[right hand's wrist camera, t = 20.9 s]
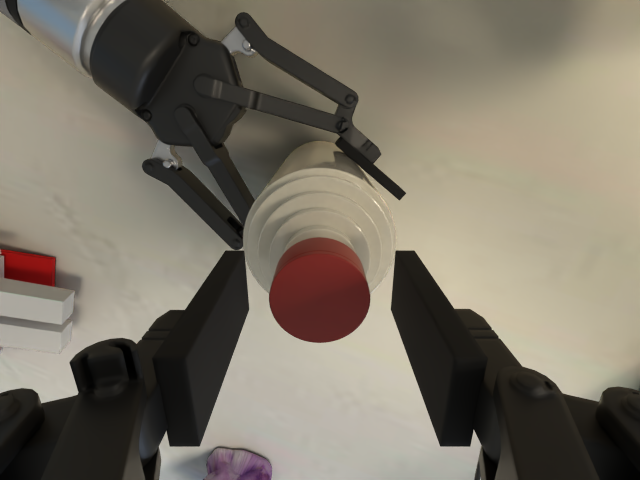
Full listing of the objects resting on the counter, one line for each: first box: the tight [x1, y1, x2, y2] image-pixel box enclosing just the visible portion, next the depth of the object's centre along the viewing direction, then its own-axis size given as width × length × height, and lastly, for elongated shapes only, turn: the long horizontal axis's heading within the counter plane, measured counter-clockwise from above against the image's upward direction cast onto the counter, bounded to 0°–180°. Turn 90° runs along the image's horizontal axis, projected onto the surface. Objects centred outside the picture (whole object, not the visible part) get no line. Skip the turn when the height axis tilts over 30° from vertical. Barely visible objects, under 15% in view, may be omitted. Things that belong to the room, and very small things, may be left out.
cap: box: [269, 237, 370, 343], centre depth 14 cm, size 4×4×2 cm
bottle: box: [243, 141, 397, 294], centre depth 24 cm, size 8×8×22 cm
